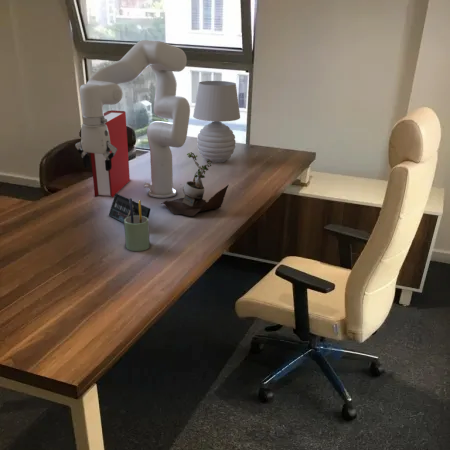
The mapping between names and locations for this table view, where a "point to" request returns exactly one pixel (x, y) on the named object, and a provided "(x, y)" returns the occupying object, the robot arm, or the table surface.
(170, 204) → the potted plant
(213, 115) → the table lamp
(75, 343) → the table surface
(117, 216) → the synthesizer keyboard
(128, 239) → the pen cup
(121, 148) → the book
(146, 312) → the table surface
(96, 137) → the robot arm
